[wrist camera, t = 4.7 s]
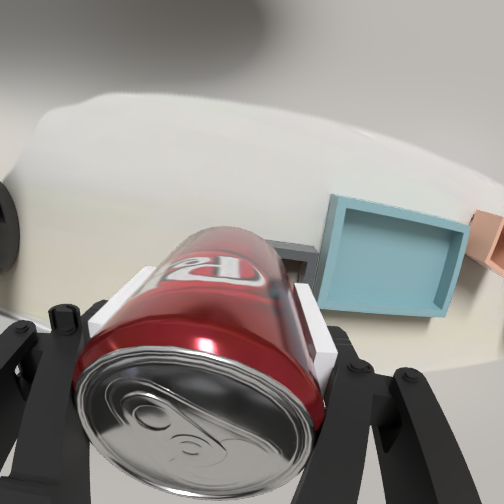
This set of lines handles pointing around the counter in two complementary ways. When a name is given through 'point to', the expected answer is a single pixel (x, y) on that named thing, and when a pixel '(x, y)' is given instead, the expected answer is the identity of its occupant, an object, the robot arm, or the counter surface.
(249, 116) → the counter surface
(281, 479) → the soda can
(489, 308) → the counter surface
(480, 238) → the cup
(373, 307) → the trough
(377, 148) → the counter surface
